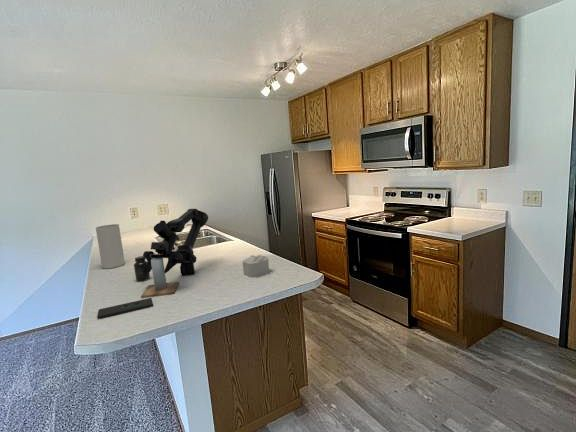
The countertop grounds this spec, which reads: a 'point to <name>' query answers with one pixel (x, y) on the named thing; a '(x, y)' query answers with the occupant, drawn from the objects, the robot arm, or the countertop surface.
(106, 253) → the cylinder vase
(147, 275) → the supplement bottle
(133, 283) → the countertop surface
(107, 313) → the smart home device
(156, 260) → the slate round-topped tapered cone
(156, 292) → the walnut board
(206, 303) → the countertop surface
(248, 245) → the countertop surface
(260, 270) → the lumpy-topped squat cylinder
